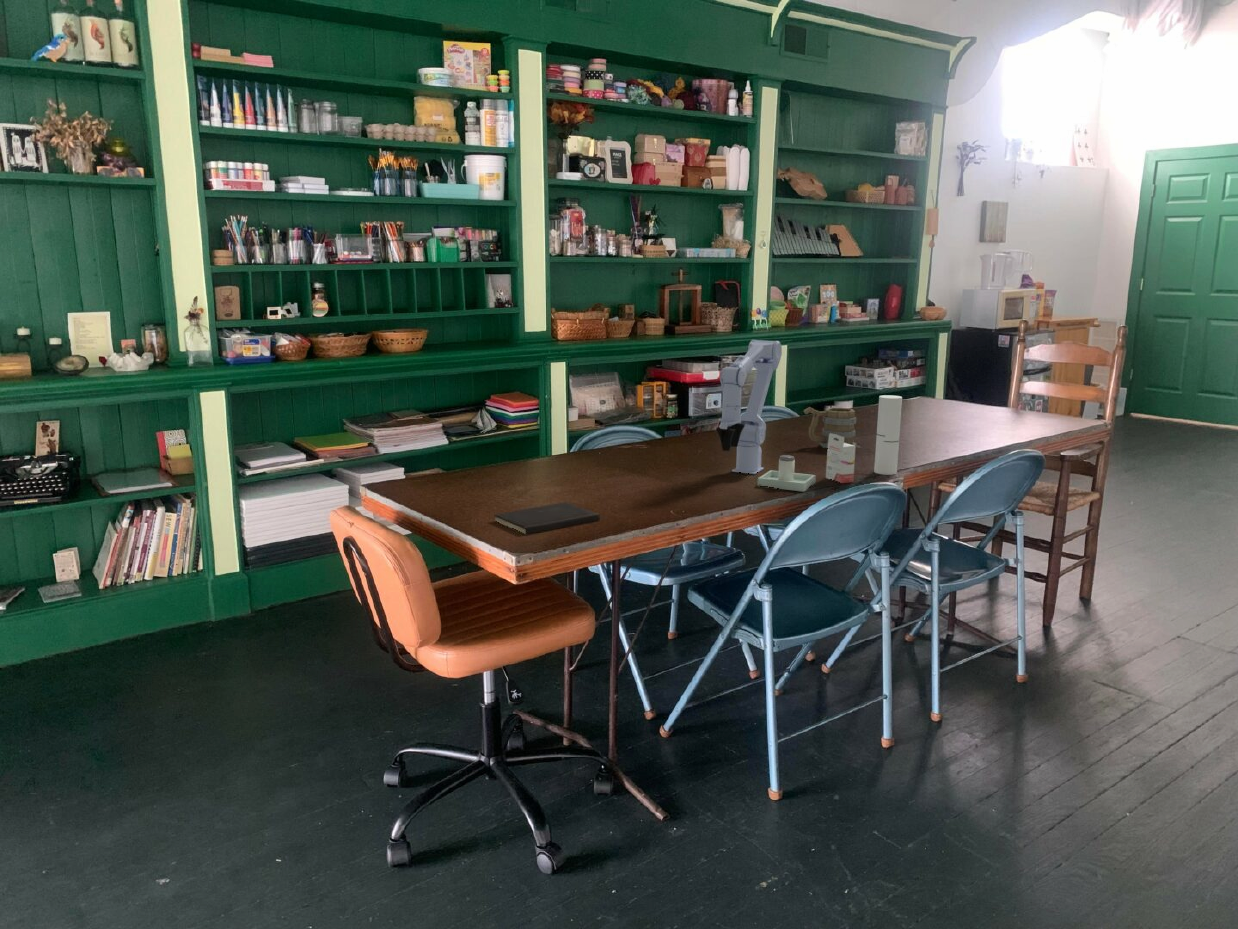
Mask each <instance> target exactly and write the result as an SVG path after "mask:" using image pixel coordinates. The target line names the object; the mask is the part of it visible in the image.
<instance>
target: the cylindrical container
mask: <svg viewBox="0 0 1238 929" xmlns="http://www.w3.org/2000/svg"><path fill="white" fill-rule="evenodd" d="M902 402H903V397H902V396H900V395H893V394H892V395H889V394H888V395H886V394H884V395H879V397H878V410H877V424H876V439H875V454H874V469H873V471H874V473H875V474H879V475H883V476H886V475H888V476H892V475H897V474H898V462H899V449H900V448H899V446H900V433H901V419H902V406H903V403H902Z"/></svg>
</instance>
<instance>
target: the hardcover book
mask: <svg viewBox="0 0 1238 929" xmlns="http://www.w3.org/2000/svg"><path fill="white" fill-rule="evenodd" d="M493 516H494V517H495V519H494V520H495V522H496V521H497V522H496V523H498V522H499V524H501V525H504V526H505V527H507V526H508V528H510V529H512V528H514V529H516V530H518V531H517V532H519V531H520V532H519V533H521V532H522V533H521V534H523V533H524V534H523V535H526V534H529V535H533V534H532V533H534V534H538V533H537V532H539V533H543V532H542V531H544V532H548V530H549V531H553V530H552V529H554V530H557V529H556V528H559V529H563V528H569V527H573V526H574V525H575V526H578V525H579V524H580V525H583V523H585V524H588V523H587V522H590V523H593V522H592V521H595V522H600V521H601V520H600V518H601V516H600V514H599V513H598V512H595V511H592V510H589V509H587V508H584V507H581V506H578V505H575V504H572V503H571V502H570V503H569V502H567V501H564V502H558V503H553V504H547V505H541V506H537V507H536V506H535V507H531V508H524V509H519V510H513V511H508V512H503V513H497V514H496V513H495V514H493ZM599 520H600V521H599ZM514 529H513V530H514ZM516 530H515V531H516Z"/></svg>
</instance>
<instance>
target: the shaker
mask: <svg viewBox="0 0 1238 929" xmlns="http://www.w3.org/2000/svg"><path fill="white" fill-rule="evenodd" d="M795 463H796V460H795V456H793V455H788V454H787V455H786V454H783V455H780V456H779V459H778V470H777V471H778V480H783V481H792V482H794V473H795V465H796V464H795Z"/></svg>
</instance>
